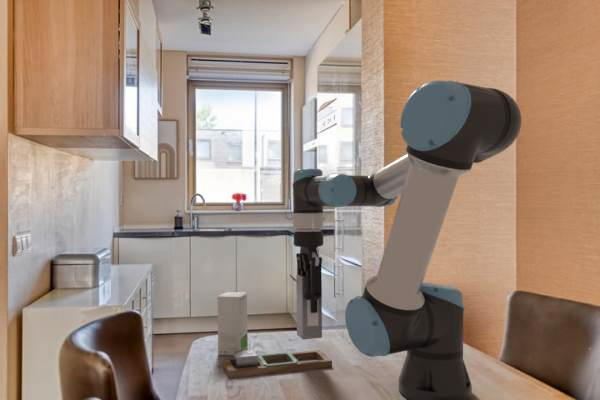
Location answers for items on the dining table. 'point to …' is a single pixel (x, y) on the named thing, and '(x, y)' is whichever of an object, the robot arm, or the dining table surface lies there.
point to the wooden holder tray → (290, 365)
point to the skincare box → (232, 323)
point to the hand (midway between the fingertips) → (309, 322)
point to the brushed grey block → (302, 327)
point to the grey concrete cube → (245, 359)
